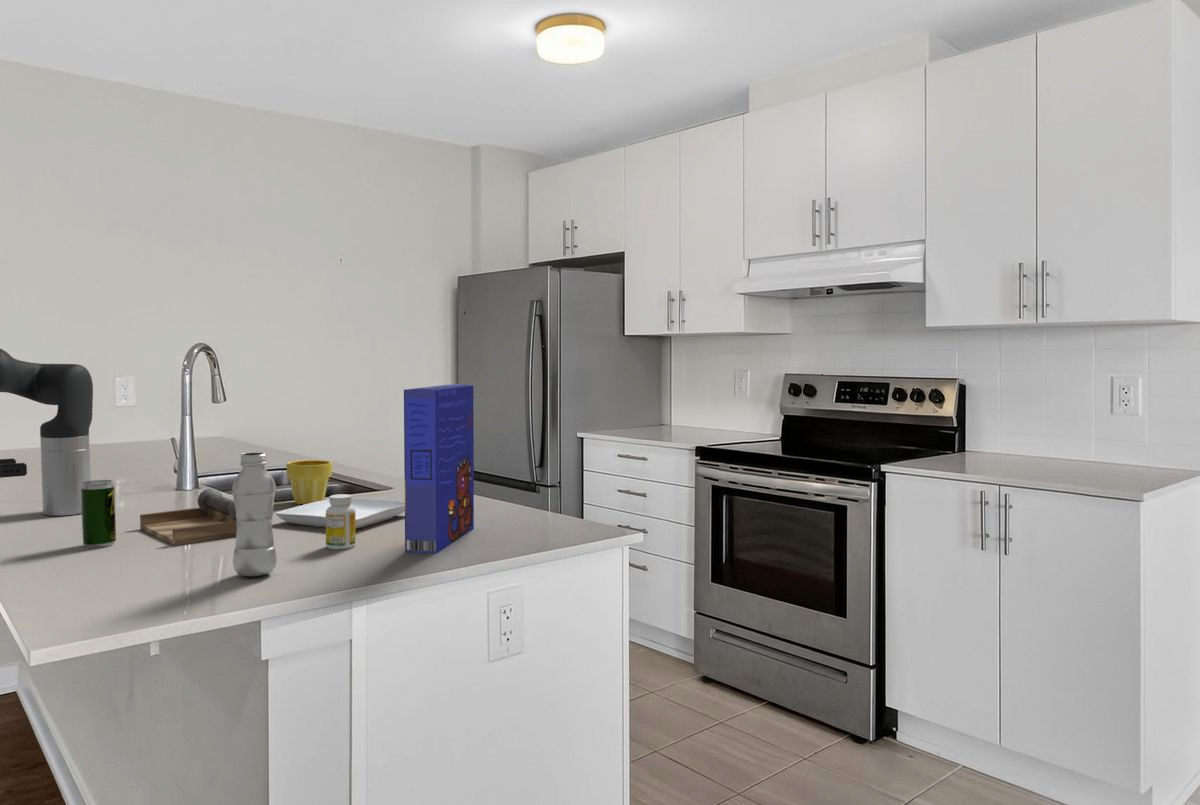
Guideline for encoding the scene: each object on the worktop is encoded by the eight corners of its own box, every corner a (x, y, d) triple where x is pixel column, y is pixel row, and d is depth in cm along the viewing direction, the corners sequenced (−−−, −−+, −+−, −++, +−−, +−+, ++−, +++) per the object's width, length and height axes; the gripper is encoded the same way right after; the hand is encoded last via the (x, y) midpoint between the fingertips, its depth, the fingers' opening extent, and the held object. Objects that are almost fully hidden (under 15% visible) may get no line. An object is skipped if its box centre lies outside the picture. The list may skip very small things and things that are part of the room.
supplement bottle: (334, 551, 156) (333, 499, 155) (320, 546, 160) (320, 495, 159) (361, 546, 160) (360, 496, 159) (347, 542, 163) (347, 492, 163)
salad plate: (272, 527, 179) (271, 510, 178) (339, 509, 198) (338, 495, 198) (354, 535, 171) (354, 518, 170) (416, 516, 190) (415, 501, 190)
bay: (140, 529, 174) (139, 495, 173) (220, 518, 185) (219, 486, 185) (175, 545, 160) (174, 508, 159) (259, 533, 171) (258, 498, 170)
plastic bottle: (240, 570, 142) (238, 451, 141) (282, 569, 143) (280, 451, 141) (227, 581, 136) (224, 456, 134) (270, 580, 136) (268, 456, 135)
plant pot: (339, 499, 209) (338, 459, 209) (321, 507, 199) (321, 465, 199) (299, 498, 210) (298, 459, 210) (279, 506, 200) (278, 464, 200)
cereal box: (446, 527, 177) (445, 383, 175) (473, 528, 176) (473, 384, 174) (405, 552, 156) (403, 388, 154) (436, 553, 155) (435, 388, 153)
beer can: (83, 549, 156) (81, 484, 155) (82, 544, 160) (80, 481, 160) (117, 546, 159) (115, 482, 158) (115, 540, 163) (113, 478, 163)
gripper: (-93, 455, 133) (29, 448, 145) (-104, 448, 144) (11, 442, 155) (-91, 503, 134) (31, 492, 145) (-102, 492, 144) (12, 483, 155)
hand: (20, 466), depth 150 cm, fingers open, 8 cm apart
